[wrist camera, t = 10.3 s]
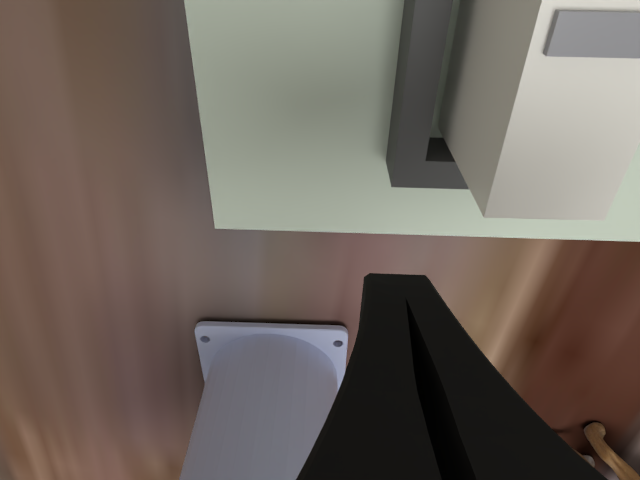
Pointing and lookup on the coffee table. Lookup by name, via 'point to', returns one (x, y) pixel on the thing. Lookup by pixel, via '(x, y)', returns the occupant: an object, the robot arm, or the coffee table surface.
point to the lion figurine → (606, 453)
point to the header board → (346, 123)
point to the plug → (544, 104)
